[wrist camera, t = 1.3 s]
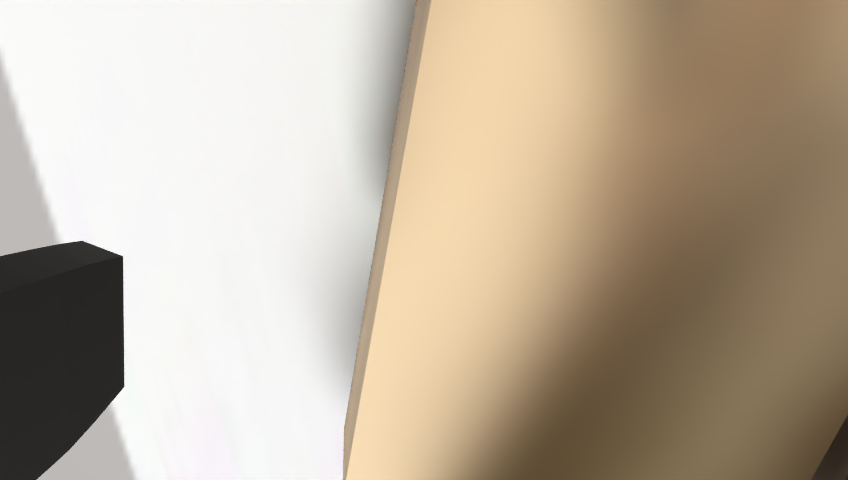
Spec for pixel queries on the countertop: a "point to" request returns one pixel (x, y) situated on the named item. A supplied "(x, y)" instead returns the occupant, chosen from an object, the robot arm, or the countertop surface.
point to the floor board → (835, 458)
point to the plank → (610, 245)
